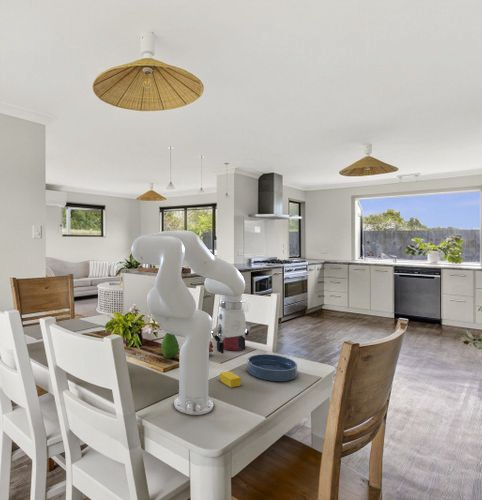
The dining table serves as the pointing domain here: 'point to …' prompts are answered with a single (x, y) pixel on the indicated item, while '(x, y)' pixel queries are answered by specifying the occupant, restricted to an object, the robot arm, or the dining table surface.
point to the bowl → (272, 367)
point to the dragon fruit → (210, 347)
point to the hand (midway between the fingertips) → (231, 350)
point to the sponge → (230, 379)
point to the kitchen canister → (231, 343)
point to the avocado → (170, 346)
